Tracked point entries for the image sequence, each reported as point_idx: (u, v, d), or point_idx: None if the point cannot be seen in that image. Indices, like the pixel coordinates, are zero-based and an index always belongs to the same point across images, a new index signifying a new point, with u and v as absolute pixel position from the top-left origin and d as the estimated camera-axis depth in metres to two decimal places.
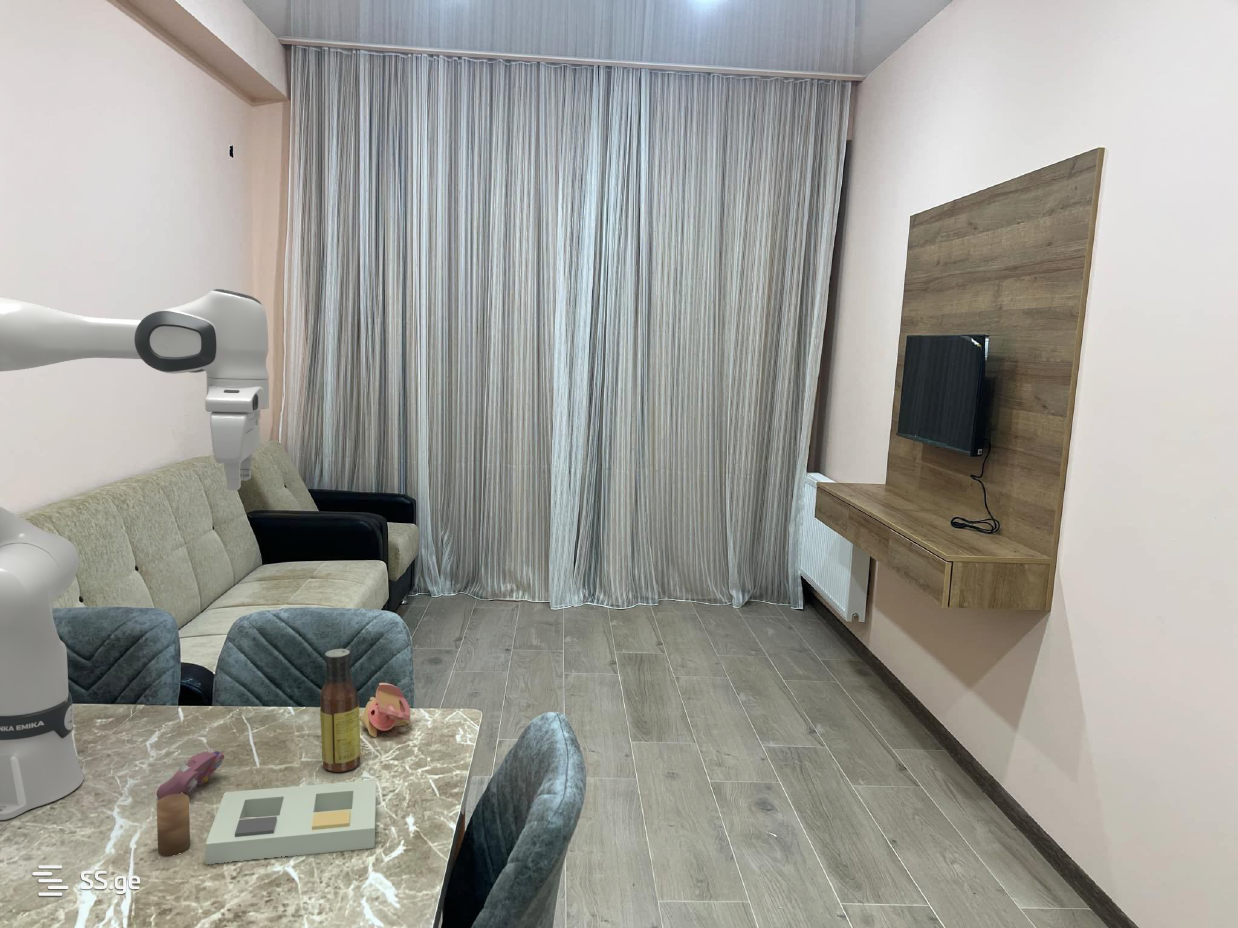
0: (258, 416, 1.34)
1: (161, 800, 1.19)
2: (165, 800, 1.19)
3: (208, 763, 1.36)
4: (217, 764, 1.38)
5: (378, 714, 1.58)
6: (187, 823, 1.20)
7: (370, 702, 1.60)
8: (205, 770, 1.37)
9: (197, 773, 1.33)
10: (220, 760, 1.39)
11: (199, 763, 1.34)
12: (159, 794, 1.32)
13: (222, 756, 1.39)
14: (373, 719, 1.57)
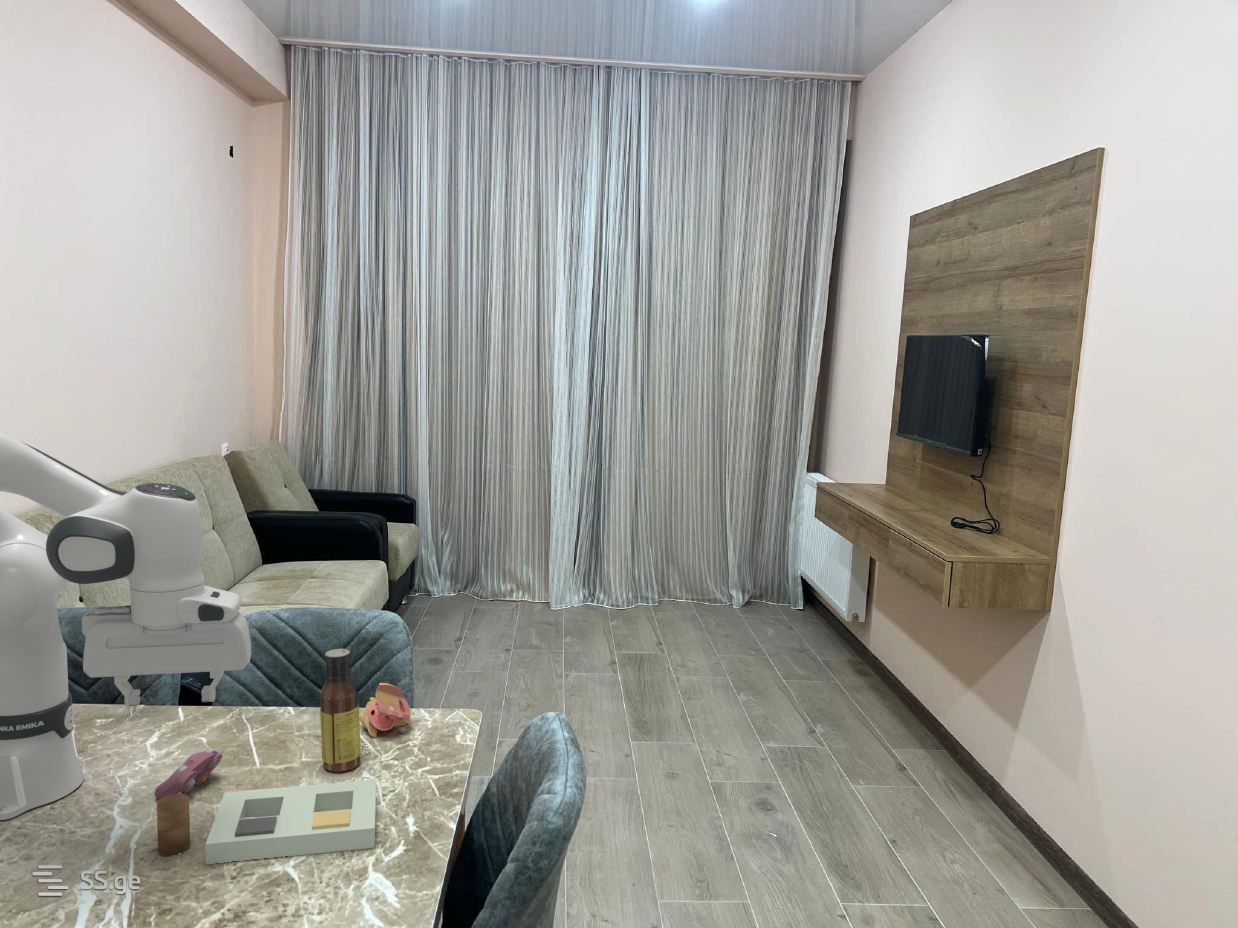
0: None
1: (161, 800, 1.19)
2: (165, 800, 1.19)
3: (206, 763, 1.36)
4: (215, 764, 1.38)
5: (378, 714, 1.58)
6: (187, 823, 1.20)
7: (370, 702, 1.60)
8: (203, 770, 1.37)
9: (194, 772, 1.33)
10: (218, 760, 1.39)
11: (197, 763, 1.34)
12: (157, 793, 1.32)
13: (220, 756, 1.39)
14: (373, 719, 1.57)
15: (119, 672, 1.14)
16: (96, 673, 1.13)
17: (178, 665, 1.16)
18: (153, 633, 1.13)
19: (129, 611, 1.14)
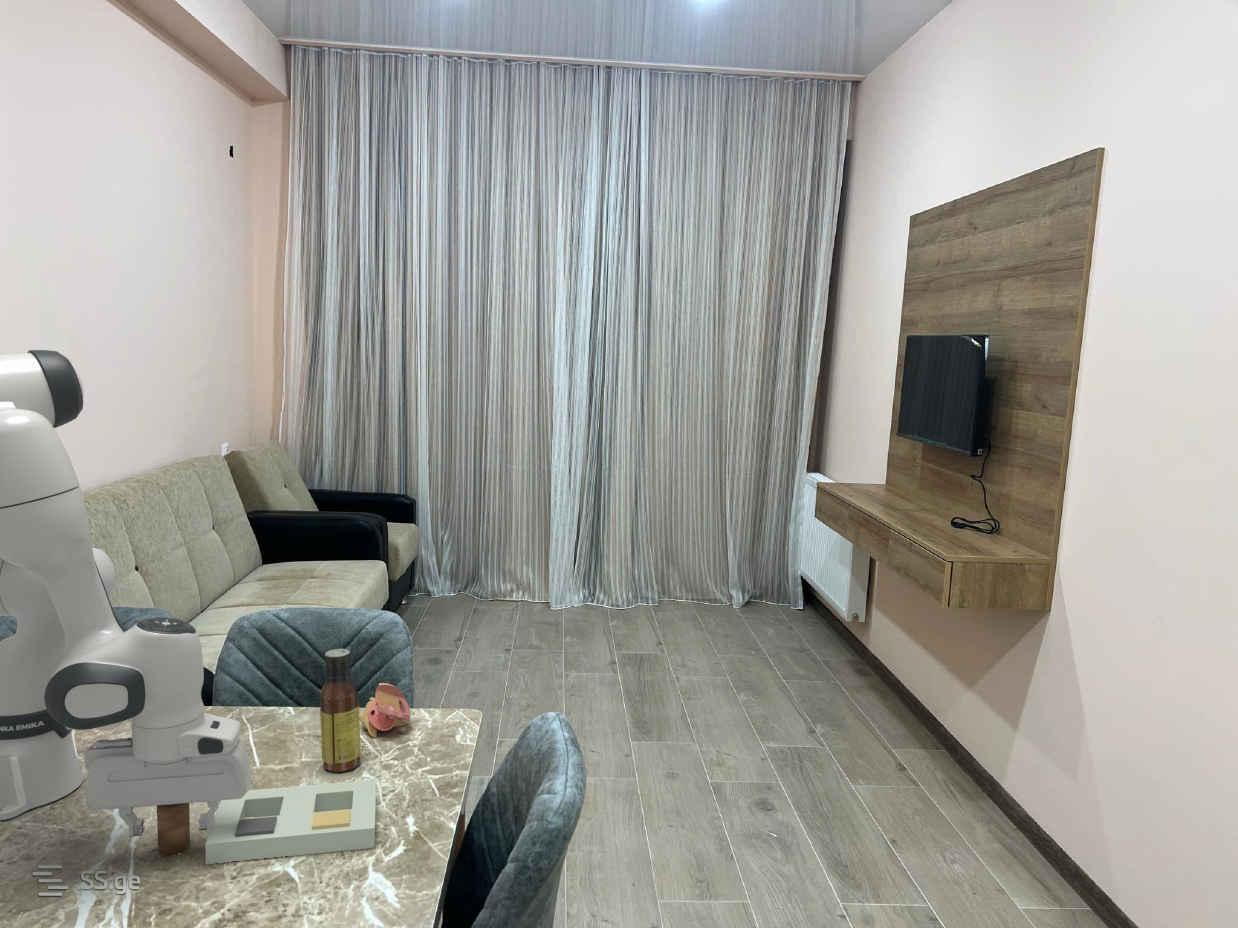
0: None
1: None
2: None
3: None
4: None
5: (378, 714, 1.58)
6: (187, 823, 1.20)
7: (370, 702, 1.60)
8: None
9: None
10: None
11: None
12: None
13: None
14: (373, 719, 1.57)
15: (121, 805, 1.16)
16: (98, 806, 1.15)
17: (178, 796, 1.17)
18: (154, 767, 1.15)
19: (131, 744, 1.16)
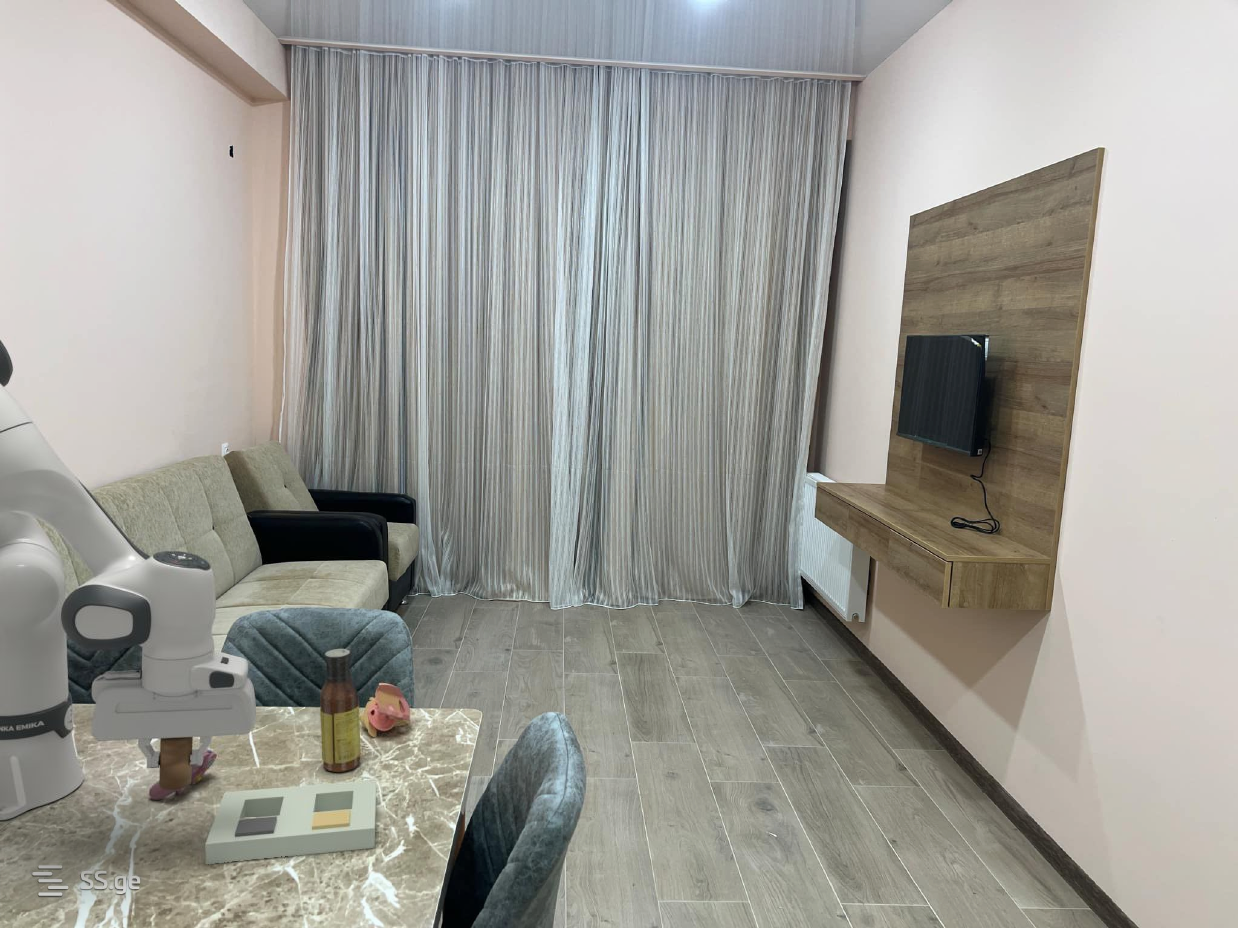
0: None
1: None
2: None
3: None
4: (209, 763, 1.38)
5: (378, 714, 1.58)
6: None
7: (370, 702, 1.60)
8: (197, 769, 1.37)
9: None
10: (212, 759, 1.39)
11: None
12: (152, 793, 1.32)
13: (214, 755, 1.39)
14: (373, 719, 1.57)
15: (127, 736, 1.16)
16: (104, 737, 1.15)
17: (185, 729, 1.18)
18: (163, 699, 1.16)
19: (140, 676, 1.17)
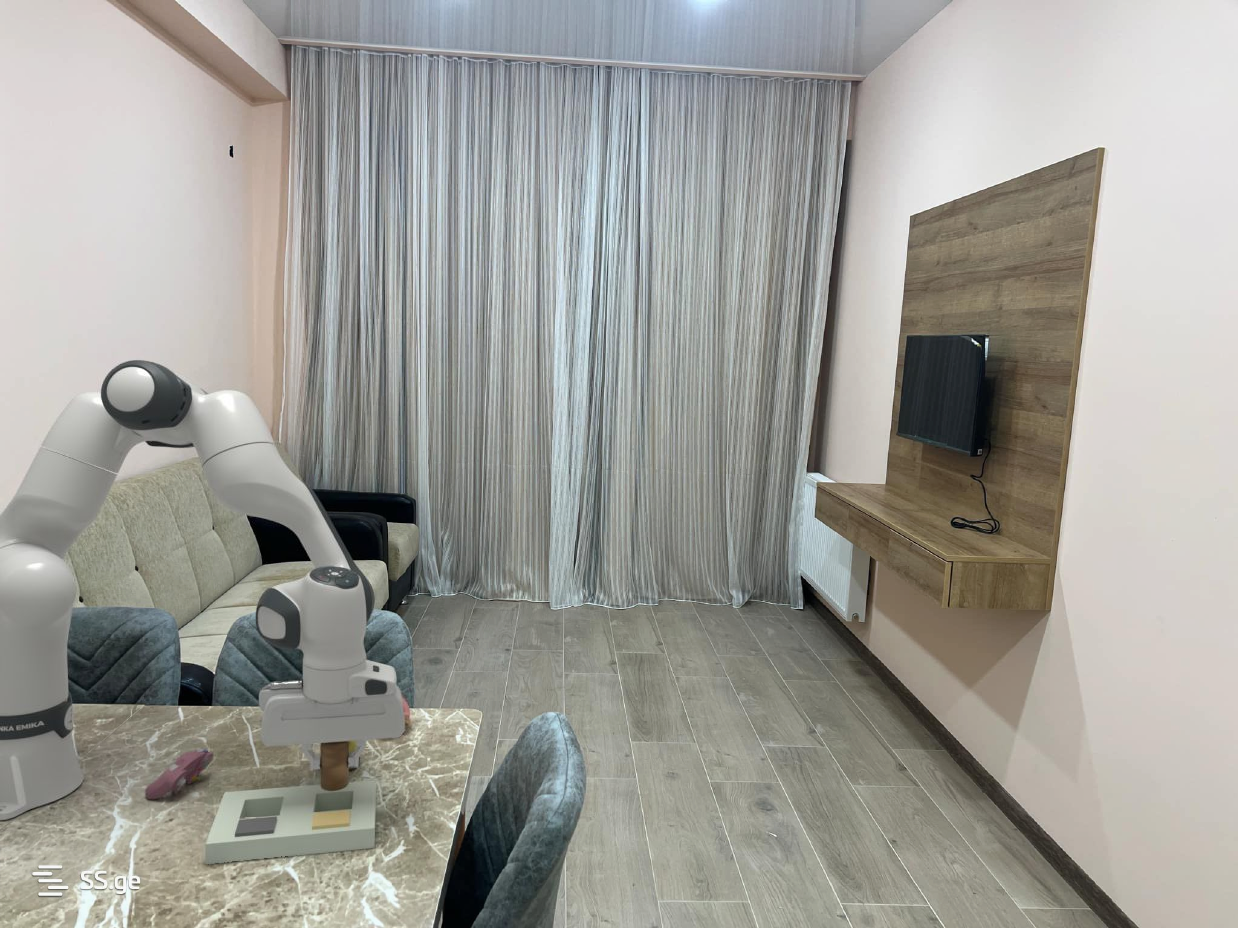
0: None
1: None
2: None
3: (197, 762, 1.36)
4: (206, 763, 1.39)
5: None
6: (347, 760, 1.28)
7: None
8: (194, 769, 1.37)
9: (185, 772, 1.33)
10: (209, 759, 1.39)
11: (187, 762, 1.34)
12: (148, 793, 1.32)
13: (211, 755, 1.39)
14: None
15: (292, 741, 1.24)
16: (272, 743, 1.24)
17: (344, 734, 1.26)
18: (324, 706, 1.24)
19: (301, 685, 1.25)
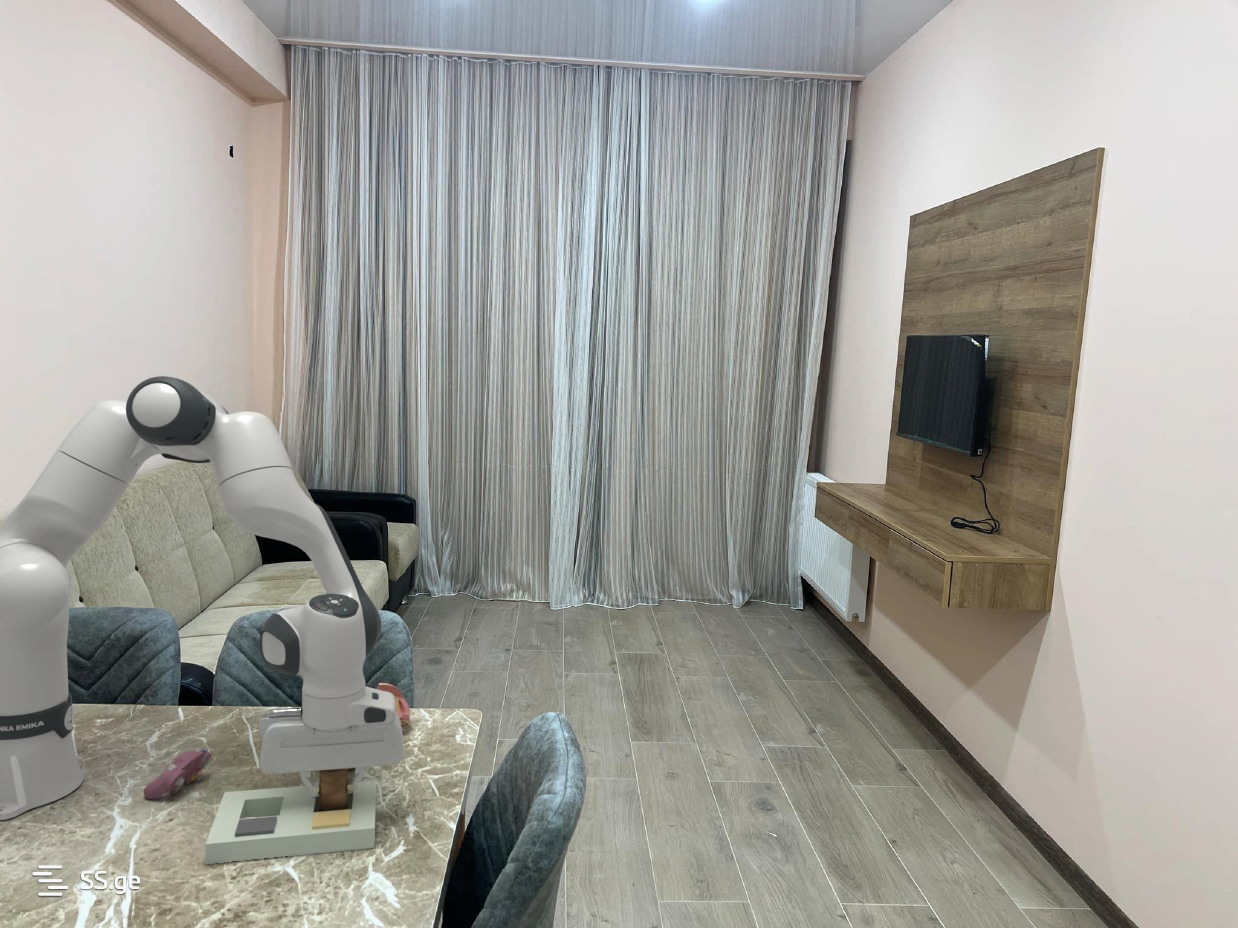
0: None
1: None
2: None
3: (195, 762, 1.36)
4: (204, 763, 1.39)
5: None
6: (346, 787, 1.29)
7: None
8: (192, 769, 1.37)
9: (184, 771, 1.33)
10: (207, 759, 1.39)
11: (186, 762, 1.34)
12: (146, 792, 1.32)
13: (209, 755, 1.39)
14: None
15: (291, 769, 1.25)
16: (271, 770, 1.24)
17: (343, 761, 1.27)
18: (323, 734, 1.24)
19: (300, 713, 1.25)
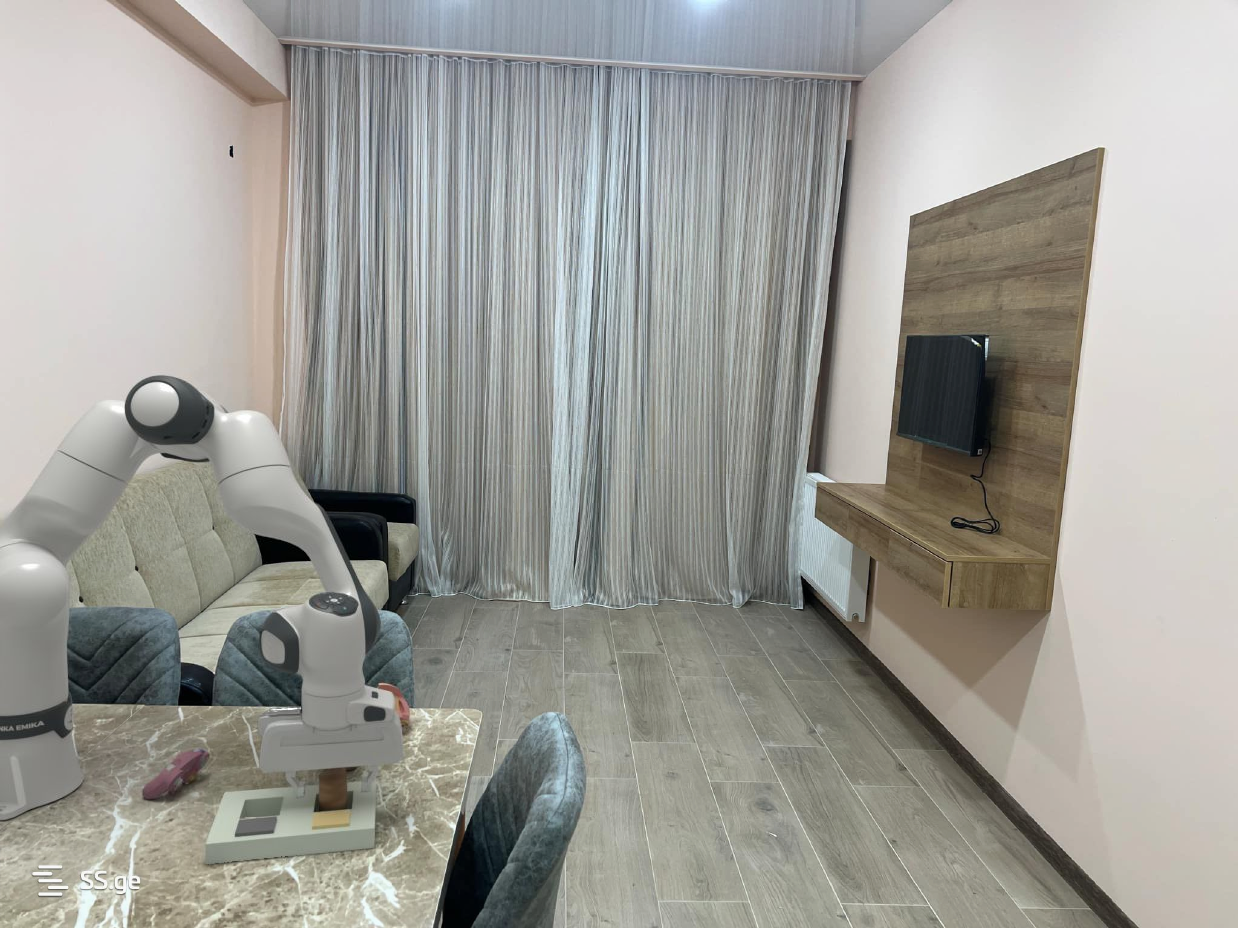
0: None
1: (322, 774, 1.29)
2: (326, 774, 1.28)
3: (193, 762, 1.36)
4: (202, 763, 1.39)
5: None
6: (346, 795, 1.29)
7: None
8: (190, 769, 1.37)
9: (182, 771, 1.33)
10: (205, 759, 1.39)
11: (184, 762, 1.34)
12: (145, 793, 1.32)
13: (207, 755, 1.39)
14: None
15: (291, 768, 1.25)
16: (271, 769, 1.24)
17: (342, 760, 1.26)
18: (323, 733, 1.24)
19: (300, 712, 1.25)
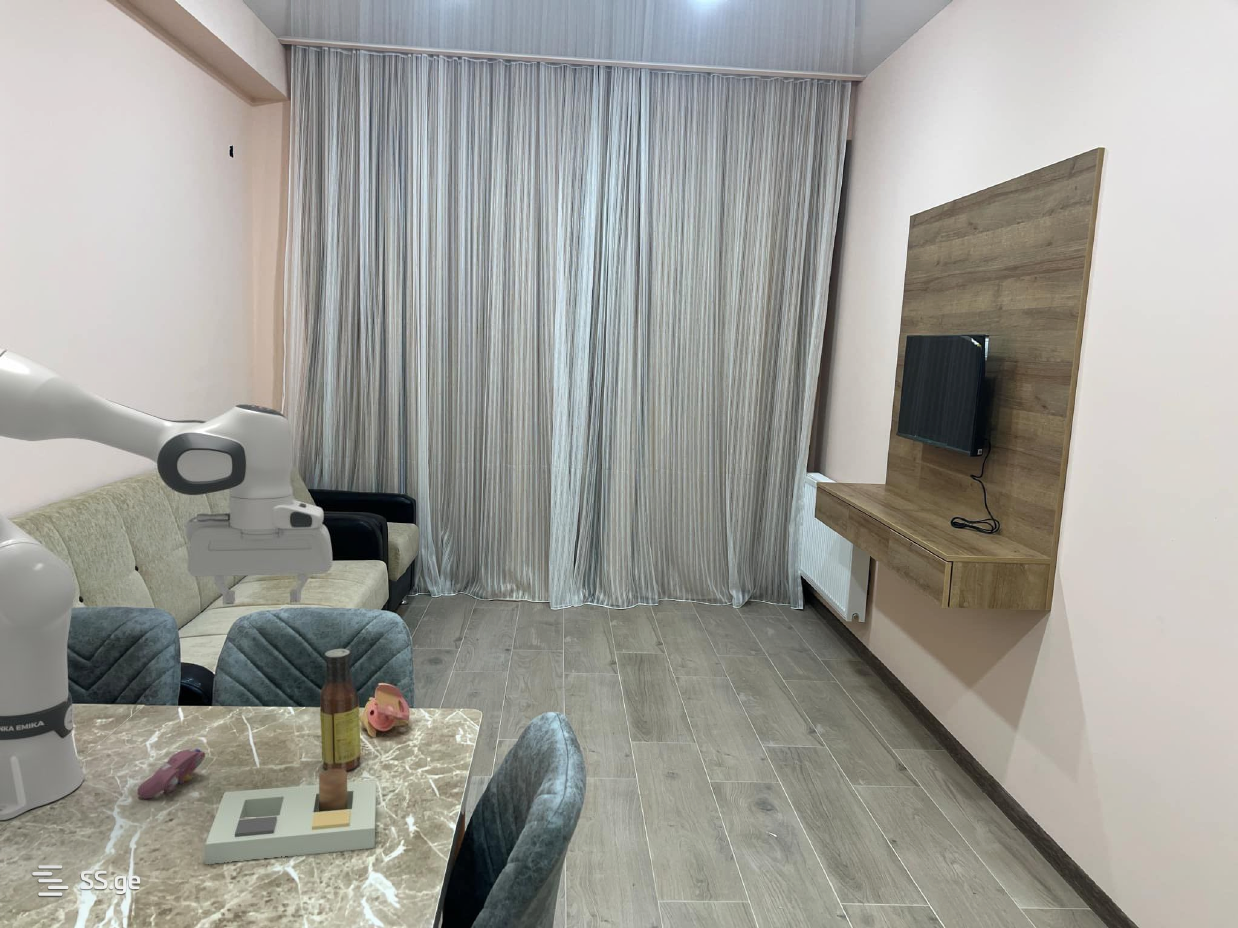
0: None
1: (322, 774, 1.29)
2: (326, 774, 1.28)
3: (189, 761, 1.37)
4: (198, 762, 1.39)
5: (378, 714, 1.58)
6: (346, 795, 1.29)
7: (369, 702, 1.60)
8: (186, 768, 1.37)
9: (177, 771, 1.33)
10: (201, 758, 1.39)
11: (180, 761, 1.34)
12: (140, 792, 1.32)
13: (203, 754, 1.39)
14: (372, 719, 1.57)
15: (219, 572, 1.28)
16: (199, 572, 1.27)
17: (270, 567, 1.29)
18: (250, 537, 1.27)
19: (228, 518, 1.28)
